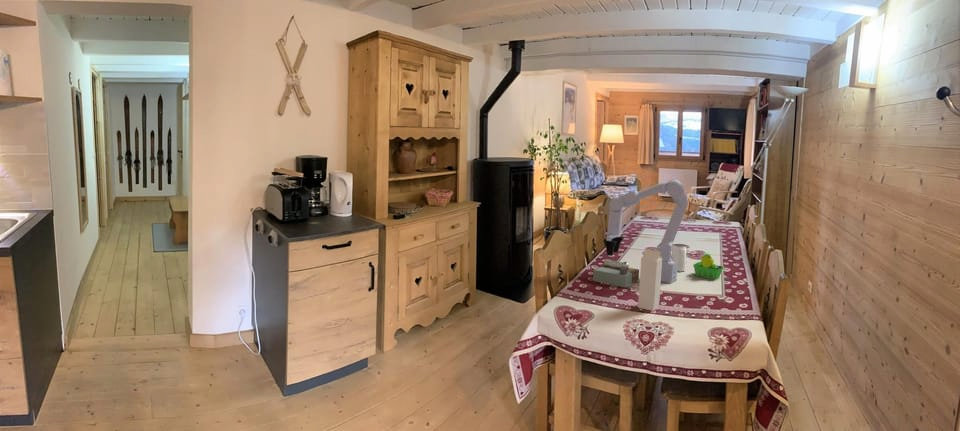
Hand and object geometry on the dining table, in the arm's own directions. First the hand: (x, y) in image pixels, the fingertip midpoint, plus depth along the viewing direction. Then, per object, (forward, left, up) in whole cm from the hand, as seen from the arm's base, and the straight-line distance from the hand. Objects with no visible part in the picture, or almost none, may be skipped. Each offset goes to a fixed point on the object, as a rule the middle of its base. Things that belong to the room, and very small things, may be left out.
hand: (612, 253), depth 250 cm
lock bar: (-4, +5, -4) cm, 8 cm away
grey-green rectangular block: (-6, +12, -10) cm, 16 cm away
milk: (-30, +32, -10) cm, 45 cm away
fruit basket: (-34, -25, -10) cm, 44 cm away
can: (-20, -27, -10) cm, 35 cm away
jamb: (-6, +4, -10) cm, 12 cm away
